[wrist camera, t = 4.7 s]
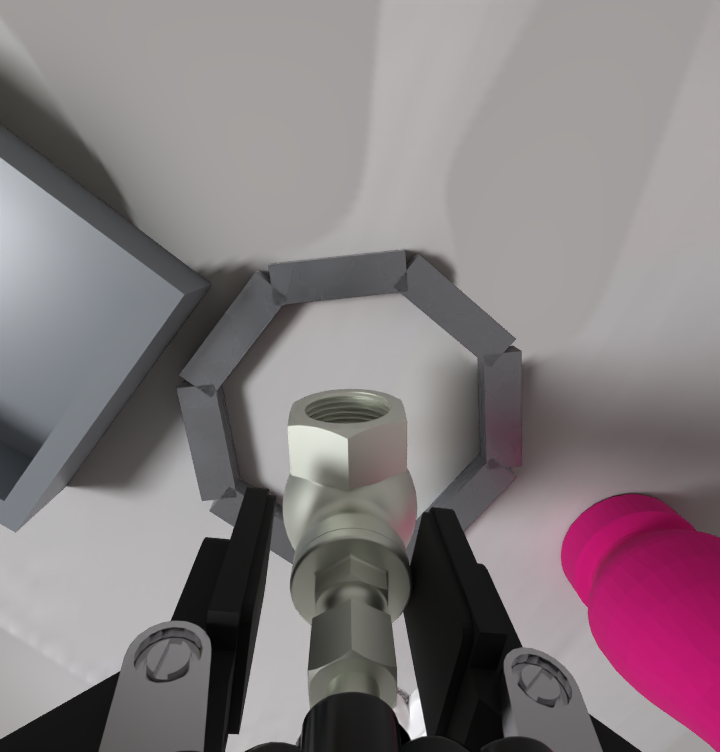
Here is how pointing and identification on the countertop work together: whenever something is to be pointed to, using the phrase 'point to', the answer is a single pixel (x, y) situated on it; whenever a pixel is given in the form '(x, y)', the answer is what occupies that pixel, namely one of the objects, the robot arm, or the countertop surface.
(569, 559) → the pepper mill
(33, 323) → the bin
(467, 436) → the countertop surface
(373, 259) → the segmented octagonal ring
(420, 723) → the acanthus leaf ornament
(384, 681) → the valve
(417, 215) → the countertop surface
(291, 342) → the countertop surface
